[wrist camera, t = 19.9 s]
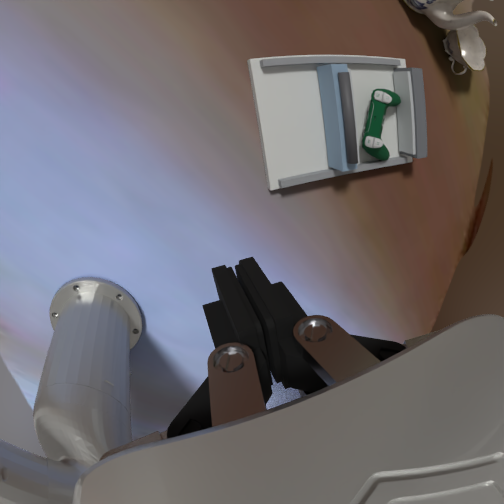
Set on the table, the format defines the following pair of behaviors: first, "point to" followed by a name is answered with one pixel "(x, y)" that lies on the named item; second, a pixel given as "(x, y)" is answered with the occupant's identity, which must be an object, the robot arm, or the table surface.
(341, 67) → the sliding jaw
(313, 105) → the vise base
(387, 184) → the table surface
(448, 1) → the chinaware
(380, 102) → the gaming controller
